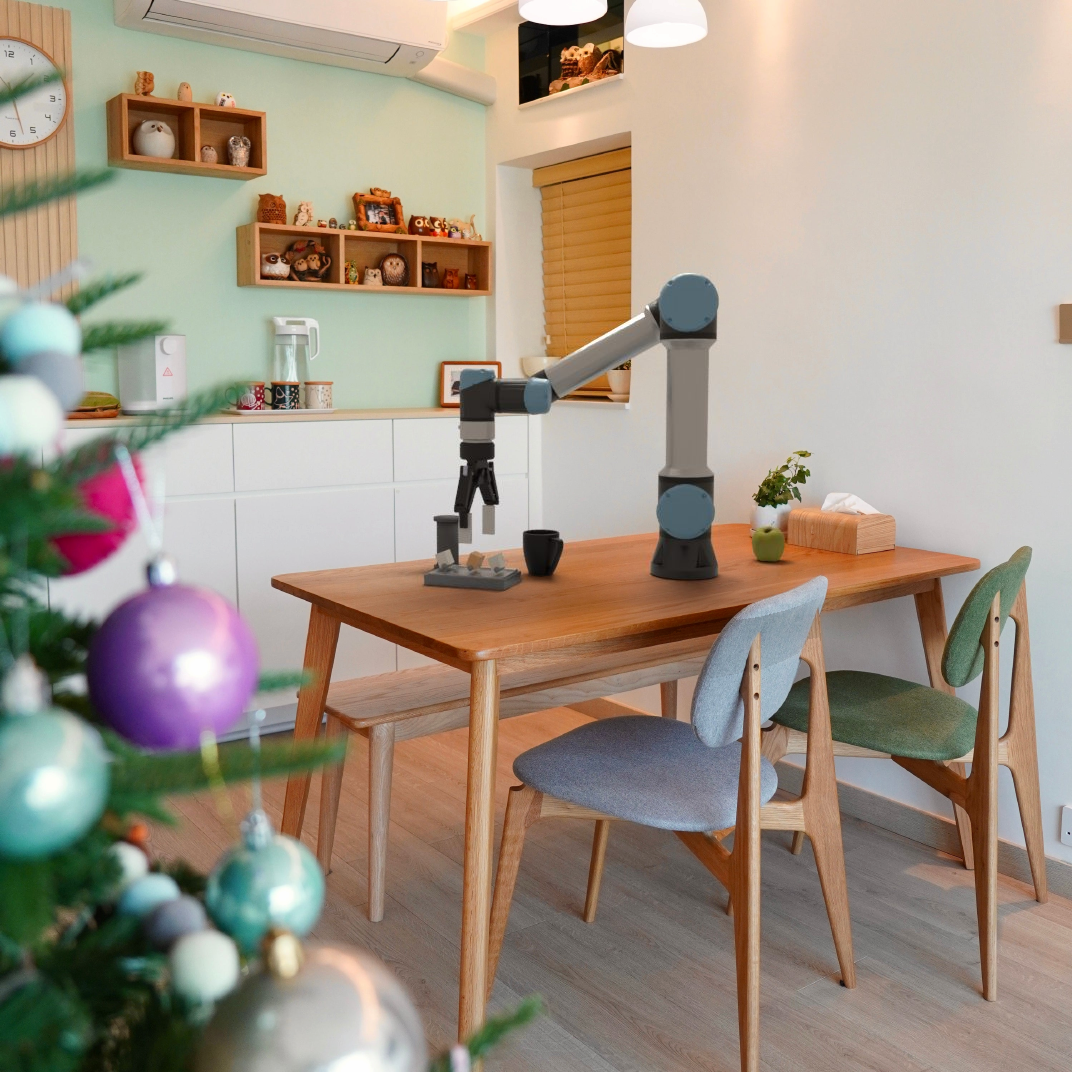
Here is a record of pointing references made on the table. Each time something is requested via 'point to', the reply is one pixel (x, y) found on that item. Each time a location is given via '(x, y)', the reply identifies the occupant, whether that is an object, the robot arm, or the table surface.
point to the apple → (768, 543)
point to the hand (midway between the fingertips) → (477, 538)
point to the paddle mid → (475, 561)
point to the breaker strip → (473, 577)
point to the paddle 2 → (497, 562)
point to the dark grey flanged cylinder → (448, 536)
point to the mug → (542, 551)
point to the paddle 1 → (445, 559)
